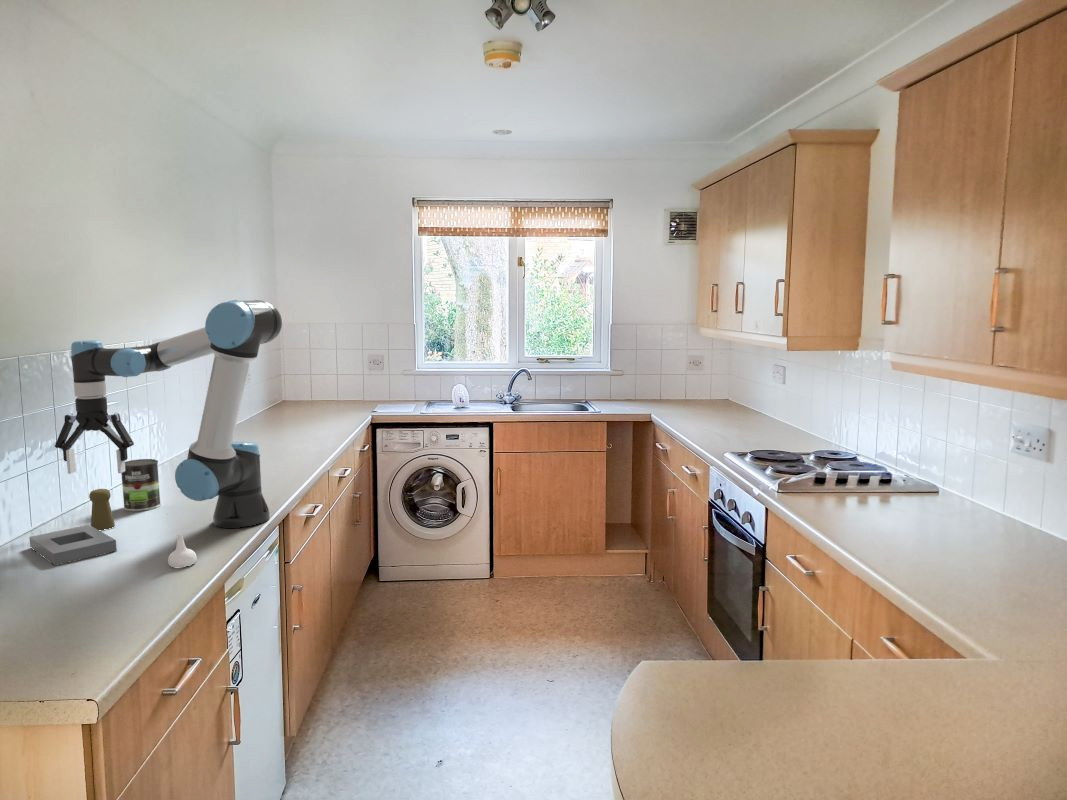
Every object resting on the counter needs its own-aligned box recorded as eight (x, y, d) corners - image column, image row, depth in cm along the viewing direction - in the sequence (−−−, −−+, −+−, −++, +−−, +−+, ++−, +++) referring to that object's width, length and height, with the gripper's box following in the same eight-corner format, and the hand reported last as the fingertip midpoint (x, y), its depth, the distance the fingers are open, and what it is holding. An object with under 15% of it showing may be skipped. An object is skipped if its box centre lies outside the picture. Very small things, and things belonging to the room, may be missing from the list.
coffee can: (157, 510, 236) (154, 464, 234) (120, 512, 233) (116, 467, 231) (164, 501, 246) (160, 457, 244) (128, 504, 243) (124, 460, 241)
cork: (109, 523, 223) (106, 485, 221) (118, 527, 219) (115, 489, 217) (87, 528, 218) (83, 490, 216) (95, 532, 214) (92, 493, 213)
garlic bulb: (189, 560, 192) (185, 529, 191) (202, 563, 188) (198, 531, 187) (164, 568, 187) (160, 535, 186) (176, 571, 183) (172, 538, 182)
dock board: (116, 551, 198) (115, 539, 197) (54, 565, 188) (53, 553, 187) (89, 535, 211) (88, 524, 211) (30, 548, 201) (29, 536, 201)
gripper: (143, 394, 217) (148, 468, 220) (52, 395, 217) (58, 469, 220) (130, 398, 210) (136, 475, 213) (36, 399, 209) (43, 475, 212)
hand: (96, 472), depth 216 cm, fingers open, 13 cm apart
